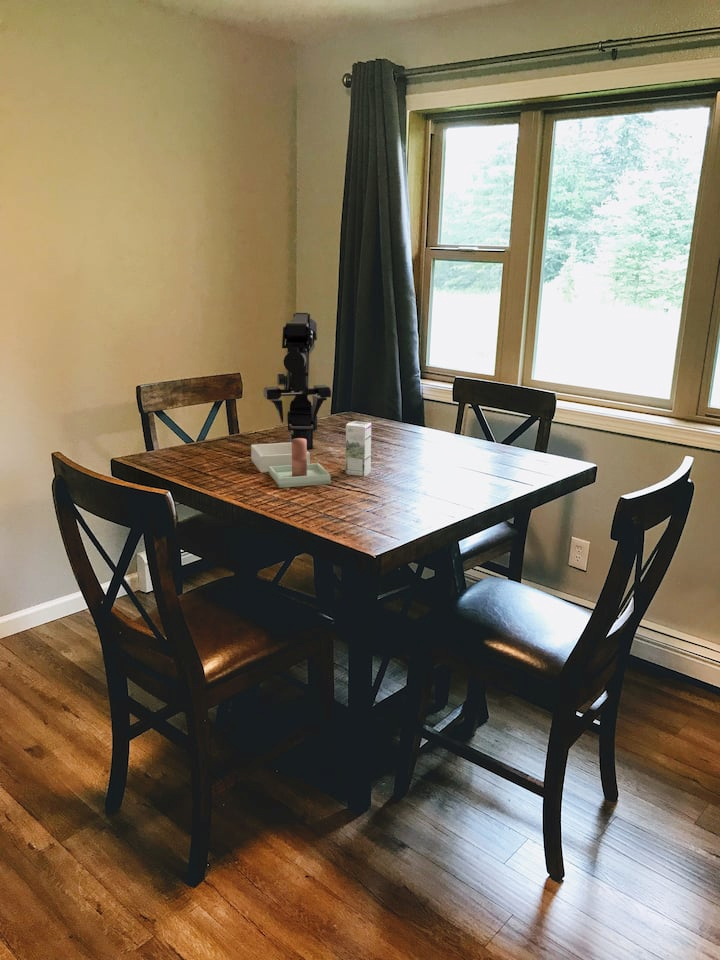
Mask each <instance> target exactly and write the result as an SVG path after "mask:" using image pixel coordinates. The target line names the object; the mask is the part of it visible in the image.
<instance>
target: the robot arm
mask: <svg viewBox="0 0 720 960" xmlns="http://www.w3.org/2000/svg"><path fill="white" fill-rule="evenodd" d="M316 341H318V323H317V322H316V320H314V319H313V318H312V317H311V313H309V312H295V313H293V319H292V320H291V321H289V322H288V321H286V323H285V325H284V326H282V341H281V342H282V343H281V349H287V351H286V355H285V357H284V358H283V365H284V368H285V369H286V375H285V373H278V374H277V375H276V377H277V378H276V379H277V380H276V382H277V386H265V387H264V388H263V393H262V394H263V398H265V400H267V401H269V402H271V403H273V405H274V406H275V409H276V412H277V414H278V418H279V420H280V423H282V424H283V423H284V407H283V400H282V399H281V398H282V397H289V396H290V397H291V396H295V397H294V398H293V400H291V401H290V404H289V410H287V415H286V416H287V431H288V432H290V433H289V442H292V439H295V438H304V439H306V440H307V451H308V450H315V447H314V432H315V431H318V429H319V428H318V414H319V413H318V412H319V411H320V409H321V407H322V405H323V403H324V401H327V400H328V398H332V389H331V387H329V386H328V385H326V384H314V385H313V387H311V388H310V362H311V361H310V357H311V354H312V352H313V351H314V349H315V347H316ZM278 386H283V389H281V388H279V387H278ZM310 396H311V398H312V402H311V400H310V398H309V397H310Z"/></svg>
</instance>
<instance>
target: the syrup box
mask: <svg viewBox="0 0 720 960" xmlns="http://www.w3.org/2000/svg"><path fill="white" fill-rule="evenodd" d="M371 450H372V422H368V421H367V422H365V421H356V420H355V421H353V420H351V421H349V422H348V423H347V424H345V475H351V476H359V477H367V476H368V475H369V474H370V473H371V469H372V468H371V467H372V466H371V465H372V464H371V461H372V459H371V457H372V455H371V452H372V451H371Z"/></svg>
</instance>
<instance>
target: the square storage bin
mask: <svg viewBox="0 0 720 960" xmlns="http://www.w3.org/2000/svg"><path fill="white" fill-rule="evenodd" d="M250 451H251V452H250V454H251V455H250V456H251V458H250V459H251V461H252V463H253V464H254V466H256V468H257V469H258V472H260V473H269V467H272V466H287V465H292V442H290V441H289V442H275V443H260V444H257V443H256V444H251V445H250ZM307 464H311V453H310V452H309V451H308V450H307Z"/></svg>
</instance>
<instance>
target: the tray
mask: <svg viewBox="0 0 720 960" xmlns="http://www.w3.org/2000/svg"><path fill="white" fill-rule="evenodd" d="M268 473H269V475H270V477H271V478H272V479H273V480H274V482H275V483H276V485H277V488H279V489H280V488H282V489H283V488H291V487H292V488H293V487H294V488H295V487H304V486H307V487H309V486H317V485H330V484H331V477H332V476H331V473H329V472H328V471H327V470H326V469H325V468H324V467H323V466H322V465H321V464H320V463H318V462H317V463H310V464H307V476H298V477H292V465H287V466H272V467H269V472H268Z"/></svg>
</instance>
